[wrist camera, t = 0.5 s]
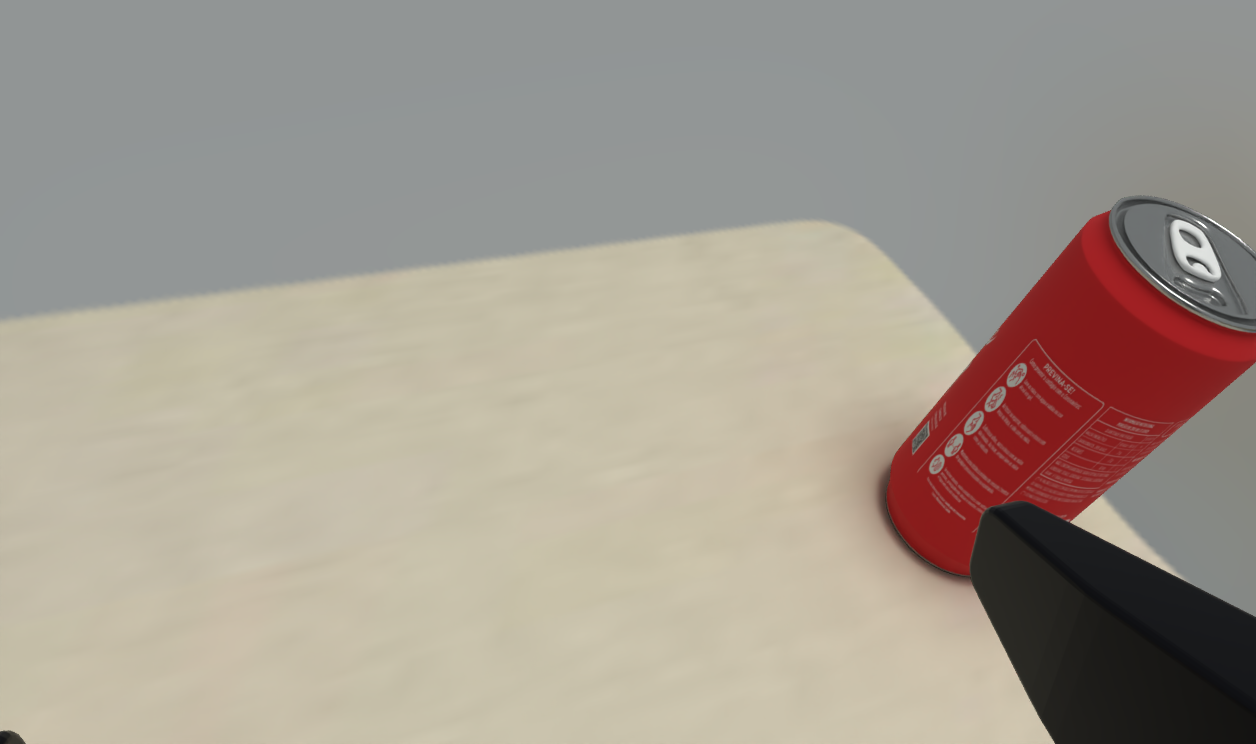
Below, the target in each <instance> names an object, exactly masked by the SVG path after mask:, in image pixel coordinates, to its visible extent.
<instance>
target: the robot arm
mask: <svg viewBox="0 0 1256 744" xmlns="http://www.w3.org/2000/svg"><path fill="white" fill-rule="evenodd" d="M969 566H970V577H971V581H972V584H973V586H974V589H975V591H976V593H977V595H978V597H979V599H980V601H981V603H982V605H983V607H984V609H985V611H986V613H987V615H988V617H989V619H990V621H991V623H992V625H993V627H994V629H995V631H996V633H997V635H998V637H999V639H1000V641H1001V643H1002V645H1003V647H1004V649H1005V651H1006V653H1007V655H1008V657H1009V659H1010V661H1011V663H1012V665H1013V667H1014V669H1015V671H1016V673H1017V675H1018V677H1019V679H1020V681H1021V683H1022V685H1023V687H1024V689H1025V691H1026V693H1027V695H1028V697H1029V699H1030V701H1031V703H1032V704H1033V706H1034V708H1035V710H1036V712H1037V714H1038V716H1039V718H1040V719H1041V721H1042V723H1043V724H1044V726H1045V728H1046V729H1047V731H1048V733H1049V734H1050V736H1051V738H1052V739H1053V741H1054V742H1055V744H1256V617H1254V616H1253V615H1251V614H1249V613H1247V612H1245V611H1243V610H1241V609H1239V608H1237V607H1235V606H1233V605H1231V604H1229V603H1227V602H1225V601H1223V600H1221V599H1219V598H1217V597H1215V596H1213V595H1211V594H1209V593H1207V592H1205V591H1203V590H1201V589H1200V588H1198V587H1196V586H1194V585H1192V584H1190V583H1188V582H1186V581H1184V580H1182V579H1180V578H1178V577H1176V576H1174V575H1172V574H1170V573H1168V572H1166V571H1164V570H1162V569H1160V568H1158V567H1156V566H1154V565H1152V564H1150V563H1148V562H1146V561H1144V560H1142V559H1141V558H1139V557H1137V556H1135V555H1133V554H1131V553H1129V552H1127V551H1125V550H1123V549H1121V548H1119V547H1117V546H1115V545H1113V544H1111V543H1109V542H1107V541H1105V540H1103V539H1101V538H1099V537H1097V536H1095V535H1093V534H1091V533H1089V532H1087V531H1085V530H1083V529H1082V528H1080V527H1078V526H1076V525H1074V524H1072V523H1070V522H1068V521H1066V520H1064V519H1062V518H1060V517H1058V516H1056V515H1054V514H1052V513H1050V512H1048V511H1046V510H1044V509H1042V508H1040V507H1038V506H1036V505H1034V504H1032V503H1030V502H1027V501H1013V502H1008V503H1004V504H1000V505H995V506H991V507H989V508H987V509H986V510H985V511H984V512H983V513H982V515H981V518H980V522H979V526H978V530H977V534H976V538H975V542H974V546H973V550H972V554H971V558H970V564H969ZM0 744H25V742H24V740H23V739H22V738H21V737H20V736H19V734H17V733H15V732H13V731H0Z"/></svg>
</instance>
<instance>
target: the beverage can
mask: <svg viewBox="0 0 1256 744" xmlns="http://www.w3.org/2000/svg"><path fill="white" fill-rule="evenodd" d="M1255 362H1256V252H1255V251H1254V250H1253V249H1252V248H1251V247H1250V246H1248V245H1247V244H1246V243H1245V242H1244V241H1242V240H1241V239H1240V238H1238V237H1237V236H1236V235H1235V234H1233V233H1232V232H1231V231H1229V230H1228V229H1226V228H1225V227H1223V226H1222V225H1220V224H1219V223H1217V222H1215V221H1214V220H1212V219H1210V218H1208V217H1207V216H1205V215H1203V214H1201V213H1199V212H1197V211H1195V210H1193V209H1191V208H1189V207H1186V206H1184V205H1181V204H1179V203H1176V202H1173V201H1170V200H1167V199H1162V198H1158V197H1152V196H1130V197H1125V198H1122V199H1120V200H1119V201H1118V202H1117V203H1116V204H1115V205H1114V206H1113V208H1112V209H1111V210H1110V211H1108V212H1105V213H1103V214H1100V215H1097V216H1095V217H1093V218H1091V219H1090V220H1089V221H1088V222H1087V223H1086V225H1085V226H1084V227H1083V228H1082V229H1081V230H1080V232H1079V233H1078V234H1077V235H1076V236H1075V238H1074V239H1073V240H1072V241H1071V242H1070V243H1069V245H1068V246H1067V247H1066V249H1065V250H1064V251H1063V252H1062V253H1061V254H1060V256H1059V257H1058V258H1057V259H1056V260H1055V262H1054V263H1053V264H1052V265H1051V266H1050V268H1049V269H1048V270H1047V272H1045V274H1044V275H1043V276H1042V277H1041V279H1040V280H1039V281H1038V282H1037V283H1036V285H1035V286H1034V287H1033V288H1032V289H1031V290H1030V292H1029V293H1028V294H1027V295H1026V296H1025V298H1024V299H1023V300H1022V301H1021V302H1020V304H1019V305H1018V306H1017V307H1016V309H1015V310H1014V311H1013V312H1012V313H1011V315H1010V316H1009V317H1008V318H1007V320H1006V321H1005V322H1004V323H1003V324H1002V325H1001V327H1000V328H999V329H998V330H997V331H996V333H995V334H994V335H993V336H992V337H991V339H990V340H989V341H988V342H987V343H986V345H985V346H984V347H983V348H982V349H981V351H980V352H979V353H978V354H977V355H976V357H975V358H974V359H973V360H972V361H971V363H970V364H969V365H968V366H967V367H966V369H965V370H964V371H963V372H962V373H961V375H960V376H959V377H958V378H957V379H956V381H955V382H954V383H953V384H952V385H951V387H950V388H949V389H948V390H947V391H946V393H945V394H944V395H943V396H942V398H941V399H940V400H939V401H938V402H937V404H936V405H935V406H934V407H933V408H932V410H931V411H930V412H929V413H928V414H927V416H926V417H925V418H924V419H923V420H922V422H921V423H920V424H919V425H918V426H917V428H916V429H915V430H914V431H913V432H912V434H911V435H910V436H909V437H908V438H907V440H906V441H905V442H904V443H903V444H902V446H901V447H900V448H899V449H898V451H897V452H896V454H895V456H894V458H893V461H892V465H891V472H890V480H889V483H888V485H887V489H886V506H887V510H888V514H889V517H890V519H891V521H892V523H893V525H894V527H895V529H896V531H897V532H898V534H899V535H900V537H901V538H902V539H903V540H904V542H905V543H906V544H907V545H908V546H909V547H910V548H911V549H912V550H913V551H914V552H915V553H916V554H917V555H919V556H920V557H921V558H922V559H924V560H925V561H927V562H928V563H930V564H931V565H933V566H935V567H937V568H939V569H941V570H943V571H945V572H948V573H951V574H954V575H959V576H966V577H970V566H969V564H970V558H971V554H972V550H973V546H974V542H975V538H976V534H977V530H978V526H979V522H980V518H981V515H982V513H983V512H984V511H985V510H986V509H987V508H989V507H991V506H995V505H1000V504H1004V503H1008V502H1013V501H1027V502H1030V503H1032V504H1034V505H1036V506H1038V507H1040V508H1042V509H1044V510H1046V511H1048V512H1050V513H1052V514H1054V515H1056V516H1058V517H1060V518H1062V519H1064V520H1066V521H1068V522H1070V521H1072V520H1073V519H1074V518H1075V517H1076V516H1077V515H1079V514H1080V513H1081V512H1082V511H1083V510H1084V509H1086V508H1087V507H1088V506H1089V505H1090V504H1091V503H1093V502H1094V501H1095V500H1096V499H1097V498H1098V497H1100V496H1101V495H1102V494H1103V493H1104V492H1105V491H1107V489H1109V488H1110V487H1111V486H1112V485H1114V484H1115V483H1116V482H1117V481H1118V480H1119V479H1121V478H1122V477H1123V476H1124V475H1125V474H1126V473H1127V472H1129V471H1130V470H1131V469H1132V468H1133V467H1134V466H1136V465H1137V464H1138V463H1139V462H1140V461H1141V460H1143V459H1144V458H1145V457H1146V456H1147V455H1148V454H1150V453H1151V452H1152V451H1153V450H1154V449H1155V448H1157V447H1158V446H1159V445H1160V444H1161V443H1162V442H1163V441H1165V440H1166V439H1167V438H1168V437H1169V436H1170V435H1172V434H1173V433H1174V432H1175V431H1176V430H1177V429H1179V428H1180V427H1181V426H1182V425H1183V424H1184V423H1186V422H1187V421H1188V420H1189V419H1190V418H1191V417H1193V416H1194V415H1195V414H1196V413H1197V412H1198V411H1200V409H1202V408H1203V407H1204V406H1205V405H1207V404H1208V403H1209V402H1210V401H1211V400H1212V399H1213V398H1215V397H1216V396H1217V395H1218V394H1219V393H1221V392H1222V391H1223V390H1224V389H1225V388H1226V387H1227V386H1229V385H1230V384H1231V383H1232V382H1233V381H1234V380H1236V379H1237V378H1238V377H1239V376H1240V375H1241V374H1243V373H1244V372H1245V371H1246V370H1247V369H1248V368H1250V367H1251V366H1252V365H1253V364H1254V363H1255Z"/></svg>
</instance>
